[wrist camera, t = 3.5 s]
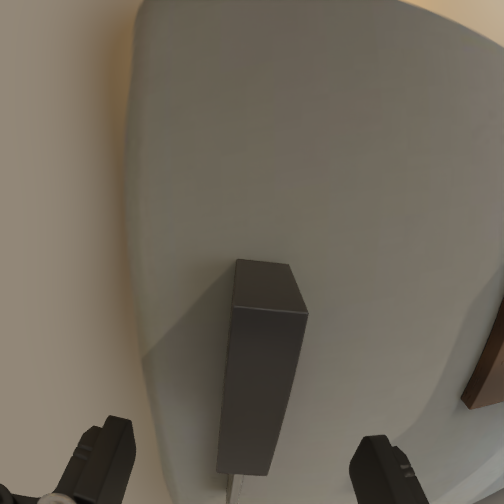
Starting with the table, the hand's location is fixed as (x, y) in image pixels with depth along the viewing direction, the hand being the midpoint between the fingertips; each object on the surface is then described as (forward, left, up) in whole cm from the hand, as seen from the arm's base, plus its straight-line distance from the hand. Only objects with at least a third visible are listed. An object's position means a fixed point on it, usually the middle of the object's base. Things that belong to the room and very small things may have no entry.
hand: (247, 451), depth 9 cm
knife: (+4, 0, -7) cm, 8 cm away
